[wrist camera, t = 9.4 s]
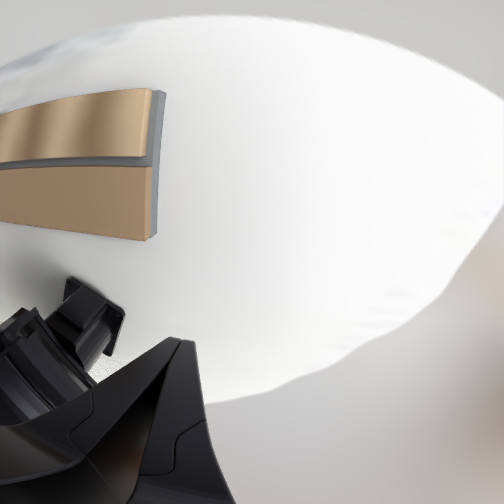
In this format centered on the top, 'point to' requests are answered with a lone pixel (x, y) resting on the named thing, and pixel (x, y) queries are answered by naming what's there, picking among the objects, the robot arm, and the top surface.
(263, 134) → the top surface
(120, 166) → the floor panel
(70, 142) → the plank
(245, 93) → the top surface
